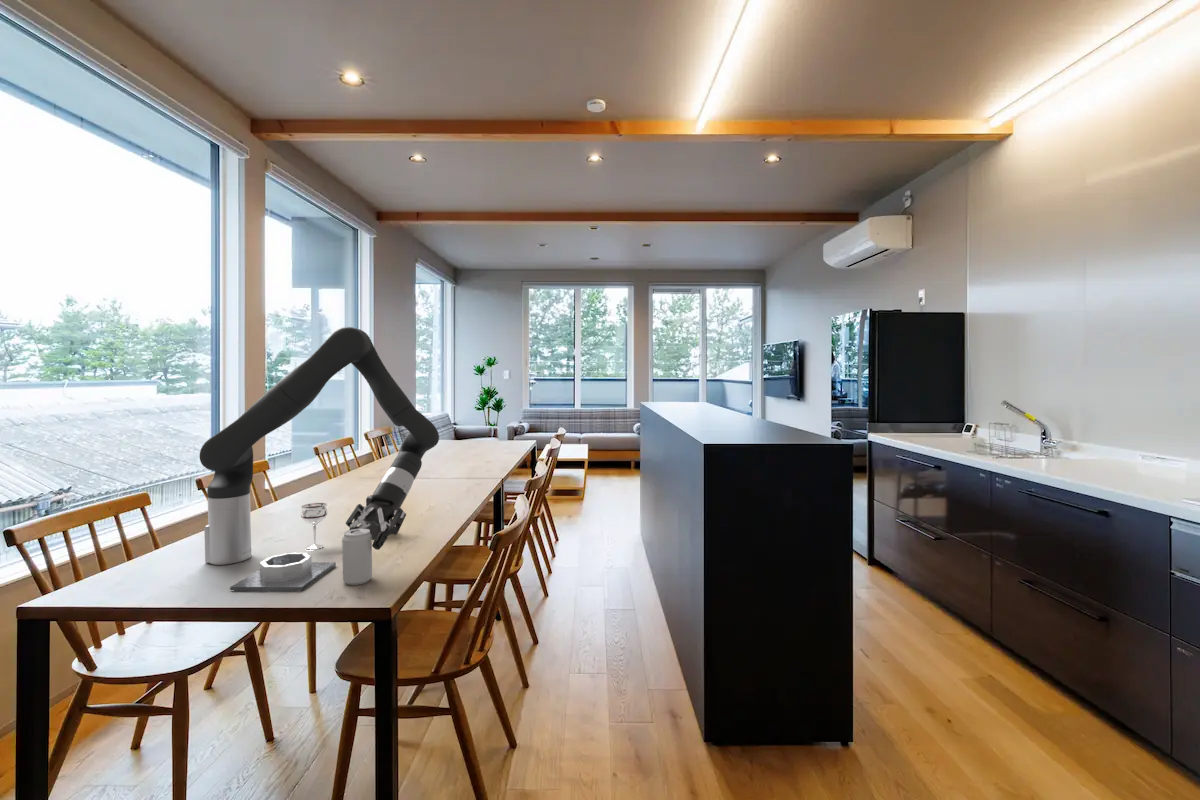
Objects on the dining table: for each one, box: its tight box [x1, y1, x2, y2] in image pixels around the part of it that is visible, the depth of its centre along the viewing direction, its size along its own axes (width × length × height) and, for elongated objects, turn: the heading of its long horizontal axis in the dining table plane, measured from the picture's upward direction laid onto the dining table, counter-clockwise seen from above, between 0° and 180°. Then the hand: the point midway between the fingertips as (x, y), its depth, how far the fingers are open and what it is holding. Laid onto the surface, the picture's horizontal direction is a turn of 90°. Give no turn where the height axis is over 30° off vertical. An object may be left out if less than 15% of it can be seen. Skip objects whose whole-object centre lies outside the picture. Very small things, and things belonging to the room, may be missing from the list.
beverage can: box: [341, 529, 373, 586], centre depth 127 cm, size 6×6×12 cm
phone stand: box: [363, 494, 395, 540], centre depth 164 cm, size 9×6×12 cm, turn 162°
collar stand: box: [229, 552, 337, 592], centre depth 129 cm, size 16×16×4 cm
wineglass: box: [300, 502, 329, 551], centre depth 152 cm, size 7×7×12 cm
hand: (360, 546), depth 128 cm, fingers open, 8 cm apart
